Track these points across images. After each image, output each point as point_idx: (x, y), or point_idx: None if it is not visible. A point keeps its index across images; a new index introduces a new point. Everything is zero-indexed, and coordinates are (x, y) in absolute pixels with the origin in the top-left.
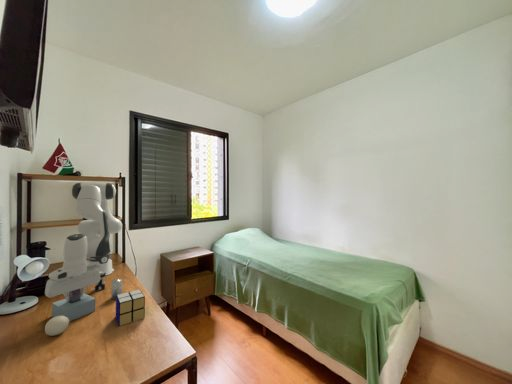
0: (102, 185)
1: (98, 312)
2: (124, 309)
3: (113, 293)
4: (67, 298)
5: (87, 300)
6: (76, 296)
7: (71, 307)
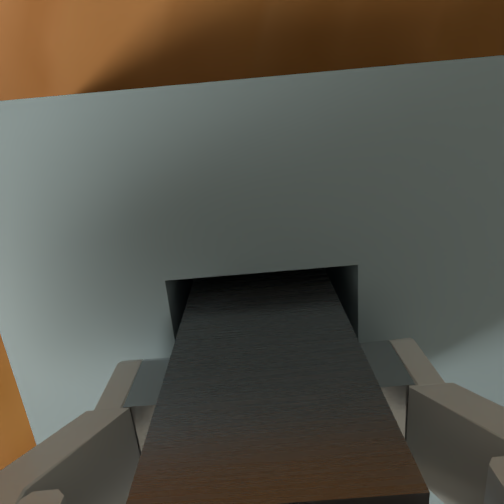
0: None
1: (34, 8)
2: None
3: None
4: (440, 381)
5: (90, 140)
6: (259, 350)
7: (419, 65)
